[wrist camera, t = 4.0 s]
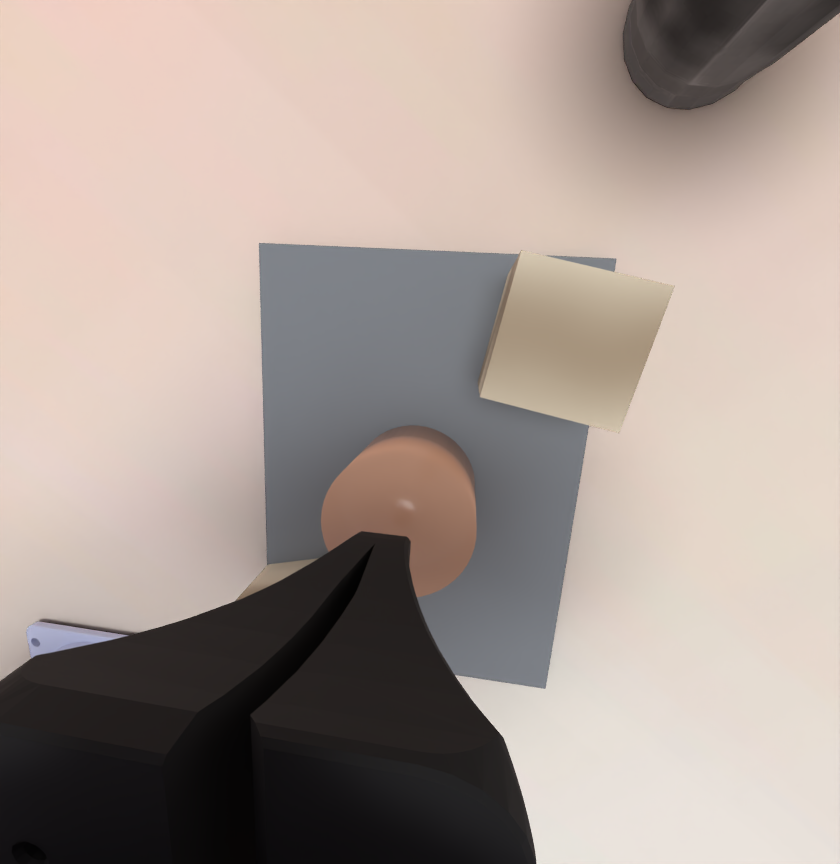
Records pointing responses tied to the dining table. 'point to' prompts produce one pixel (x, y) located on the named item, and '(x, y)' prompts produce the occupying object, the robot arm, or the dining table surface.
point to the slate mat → (420, 406)
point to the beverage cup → (712, 43)
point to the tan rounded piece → (409, 502)
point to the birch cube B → (571, 340)
